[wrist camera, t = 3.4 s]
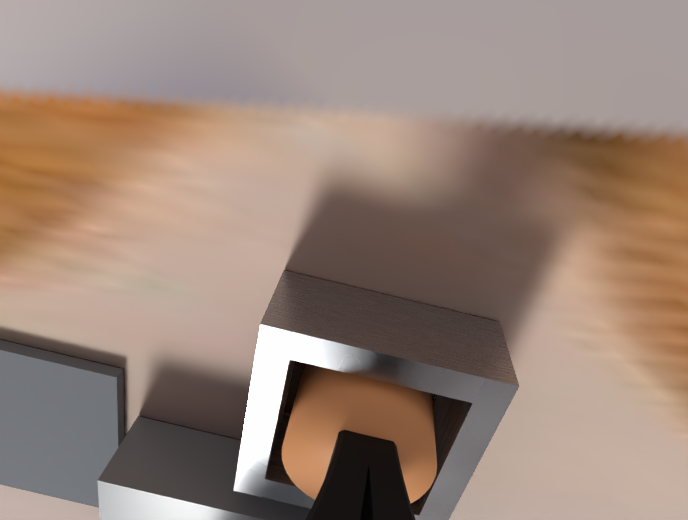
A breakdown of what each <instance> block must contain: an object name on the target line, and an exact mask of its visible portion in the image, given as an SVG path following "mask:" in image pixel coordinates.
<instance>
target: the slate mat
mask: <svg viewBox="0 0 688 520" xmlns="http://www.w3.org/2000/svg"><path fill="white" fill-rule="evenodd" d="M123 439H124V387H123V369H121V368H117V367H113V366H108V365H104V364H100V363H96V362H92V361H87V360H83V359H79V358H75V357H71V356H66V355H62V354H58V353H54V352H50V351H45V350H41V349H37V348H33V347H29V346H24V345H20V344H16V343H12V342H8V341H3V340H0V484H1V485H5V486H10V487H14V488H18V489H22V490H27V491H31V492H35V493H39V494H44V495H48V496H52V497H56V498H61V499H65V500H69V501H73V502H78V503H82V504H86V505H90V506H95V507H99V499H98V482H97V480H98V479H99V477H100V476H101V474H102V472H103V471H104V469H105V468H106V466H107V465H108V463H109V461H110V460H111V458H112V457H113V455H114V454H115V452H116V450H117V449H118V447H119V446H120V444H121V443H122V441H123Z"/></svg>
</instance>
